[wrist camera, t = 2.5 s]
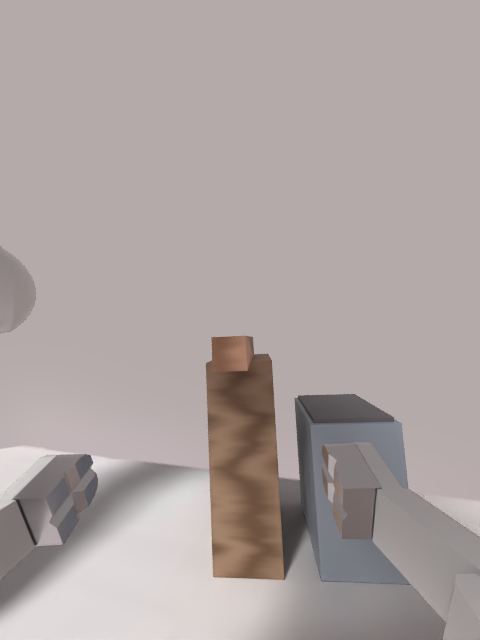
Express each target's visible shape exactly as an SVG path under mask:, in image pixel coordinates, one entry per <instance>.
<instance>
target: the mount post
mask: <svg viewBox="0 0 480 640" xmlns="http://www.w3.org/2000/svg"><path fill="white" fill-rule="evenodd" d="M206 379H207V405H208V435H209V436H208V437H209V467H210V496H211V525H212V555H213V577H229V578H256V579H283V580H284V563H283V546H282V529H281V512H280V494H279V477H278V460H277V443H276V426H275V408H274V391H273V375H272V360H271V358H270V357H269V355H268V354H257V355H255V354H254V355H253V357H252V360H251V362H250V365H249V368H248V370H247V371H230V372H213V362H212V361H210V362H208V363H206Z"/></svg>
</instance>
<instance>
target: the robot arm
mask: <svg viewBox="0 0 480 640" xmlns="http://www.w3.org/2000/svg"><path fill="white" fill-rule="evenodd" d="M35 300H36V289H35V285H34V281H33V279H32V277H31V275H30V274H29V272H28V270H27V269H26V267H25V266H24V265H23V264H22V263H21V262H20V261H19V260H18V259H17V258H16V257H14V256H13V255H12V254H10V253H9V252H7V251H6V250H4V249H3V248H1V247H0V333H6V332H11V331H12V330H14V329H16V328H17V327H18V326H19V325H21V323H23V322H24V321H25V320H26V319H27V317H28V316H29V315H30V313H31V311H32V309H33V307H34V304H35ZM322 456H323V459H324V461H325V462H324V463H323V464H322V478H323V484H324V488H325V492H326V495H327V498H328V499H329V500H330V501H331V502H332V503H333V516H334V518H335V521H336V524H337V527H338V530H339V533H340V536H341V539H372V540H373V543H374V544H375V545H376V546H377V547H378V548H379V549H380V550H381V551H382V552H383V554H384V555H385V556H386V557H387V558H388V559H389V560H390V561H391V562H392V564H393V565H394V566H395V567H396V568H397V569H398V570H399V571H400V572H401V574H402V575H403V576H404V577H405V578H406V579H407V580H408V581H409V582H410V584H411V585H412V586H413V587H414V588H415V589H416V590H417V591H418V592H419V593H420V595H421V596H422V597H423V598H424V599H425V600H426V601H427V602H428V603H429V605H430V606H431V607H432V608H433V609H434V610H435V611H436V612H437V613H438V615H439V616H440V617H441V618H442V619H443V620H444V621H445V622H446V625H445V629H444V634H443V639H442V640H480V537H479V536H477V535H476V534H474V533H473V532H471V531H470V530H468V529H467V528H465V527H464V526H463V525H461V524H460V523H458V522H457V521H455V520H454V519H452V518H451V517H449V516H448V515H446V514H445V513H443V512H442V511H440V510H439V509H438V508H436V507H435V506H433V505H432V504H430V503H429V502H427V501H426V500H424V499H423V498H421V497H420V496H418V495H417V494H416V493H414V492H412V491H411V490H410V489H408V488H402V487H401V486H400V484H399V483H398V481H397V480H396V478H395V477H394V475H393V474H392V473H391V471H390V470H389V468H388V467H387V465H386V464H385V462H384V461H383V460H382V458H381V457H380V455H379V454H378V452H377V451H376V449H375V448H374V447H373V445H372V444H371V443H369V442H359V443H343V444H323V446H322ZM92 464H93V461H92V458H91V456H90V455H87V454H73V455H46V456H44V457H41V458H40V459H39V460H38V461H37V462H36V463H34V464H33V465H32V466H31V467H30V468H29V469H28V470H27V471H26V472H25V473H24V474H23V475H22V476H21V477H20V478H18V479H17V480H16V481H15V482H14V483H13V484H12V485H11V486H10V487H9V488H8V489H7V490H6V491H5V492H4V493H3V494H1V495H0V579H2V578H3V577H4V576H5V575H6V574H7V573H8V572H9V571H10V570H12V569H13V568H14V567H15V566H16V565H17V564H18V563H19V562H20V561H22V560H23V559H24V558H25V557H26V556H27V555H28V554H29V553H30V552H32V551H33V550H34V549H35V546H48V545H63V544H64V542H65V541H66V539H67V538H68V536H69V535H70V533H71V532H72V530H73V528H74V527H75V525H76V524H77V522H78V521H79V513H80V512H81V511H82V510H84V509H85V508H86V507H87V506H89V504H90V502H91V501H92V499H93V498H94V495H95V492H96V489H97V486H98V478H97V475H96V473H95V472H94V471H93V470H92V469H91V466H92Z"/></svg>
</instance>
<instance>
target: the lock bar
mask: <svg viewBox="0 0 480 640" xmlns="http://www.w3.org/2000/svg"><path fill="white" fill-rule="evenodd" d="M253 354H254V349H253V337H249V336H233V337H212V362H213V372H230V371H247V370H248V368H249V365H250V362H251V360H252V357H253Z"/></svg>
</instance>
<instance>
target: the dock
mask: <svg viewBox="0 0 480 640" xmlns="http://www.w3.org/2000/svg"><path fill="white" fill-rule="evenodd" d="M295 412H296V427H297V442H298V457H299V471H300V472H299V473H300V488H301V503H302V507H303V511H304V515H305V519H306V522H307V526H308V530H309V534H310V538H311V542H312V546H313V550H314V554H315V558H316V562H317V566H318V570H319V573H320V577H321V581H337V582H363V583H390V584H410V582H409V581H408V580H407V579H406V578H405V577H404V576H403V575H402V574H401V572H400V571H399V570H398V569H397V568H396V567H395V566H394V565H393V564H392V562H391V561H390V560H389V559H388V558H387V557H386V556H385V555H384V554H383V552H382V551H381V550H380V549H379V548H378V547H377V546H376V545H375V544H374V543H373V540H372V539H341V536H340V533H339V530H338V527H337V524H336V521H335V518H334V516H333V503H332V502H331V501H330V500H329V499H328V498H327V495H326V492H325V488H324V484H323V478H322V464H323V463H324V462H325V461H324V459H323V456H322V446H323V444H343V443H359V442H369V443H371V444H372V445H373V447H374V448H375V449H376V451H377V452H378V454H379V455H380V457H381V458H382V460H383V461H384V462H385V464H386V465H387V467H388V468H389V470H390V471H391V473H392V474H393V475H394V477H395V478H396V480H397V481H398V483H399V484H400V486H401V487H402V488H408V481H407V471H406V462H405V453H404V443H403V433H402V424H401V423H400V422H398V421H397V420H395V419H394V418H393V417H392V416H391V415H389V414H387V413H385V412H384V411H382V410H380V409H379V408H377V407H375V406H373V405H372V404H370V403H368V402H367V401H365V400H363V399H361V398H360V397H358V396H357V395H355V394H343V395H304V396H298V398H295Z"/></svg>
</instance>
